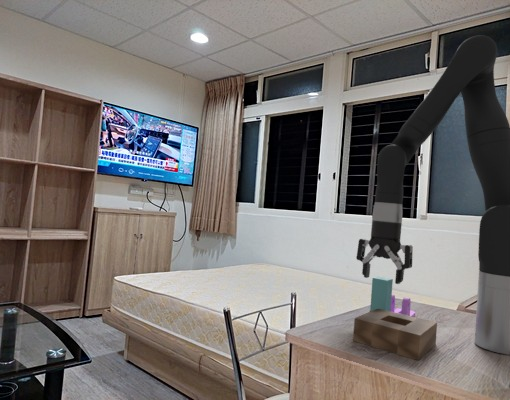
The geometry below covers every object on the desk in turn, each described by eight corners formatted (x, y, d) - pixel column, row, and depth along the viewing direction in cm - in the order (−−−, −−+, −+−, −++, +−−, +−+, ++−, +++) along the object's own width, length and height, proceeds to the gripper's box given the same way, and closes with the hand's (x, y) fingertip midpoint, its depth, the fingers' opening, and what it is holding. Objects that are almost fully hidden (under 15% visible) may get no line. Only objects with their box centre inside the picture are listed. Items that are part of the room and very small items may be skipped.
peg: (389, 324, 99) (392, 279, 99) (384, 327, 96) (387, 280, 96) (375, 320, 101) (378, 276, 102) (369, 323, 98) (372, 277, 99)
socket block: (435, 344, 85) (437, 322, 85) (418, 360, 74) (420, 335, 75) (376, 328, 94) (377, 308, 94) (353, 340, 83) (354, 318, 83)
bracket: (406, 325, 100) (407, 299, 100) (385, 320, 103) (386, 295, 103) (416, 316, 110) (418, 292, 110) (397, 311, 114) (399, 289, 114)
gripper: (418, 223, 98) (413, 284, 98) (367, 218, 107) (362, 274, 107) (409, 222, 92) (404, 287, 92) (356, 217, 101) (350, 276, 101)
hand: (381, 280), depth 99 cm, fingers open, 8 cm apart
